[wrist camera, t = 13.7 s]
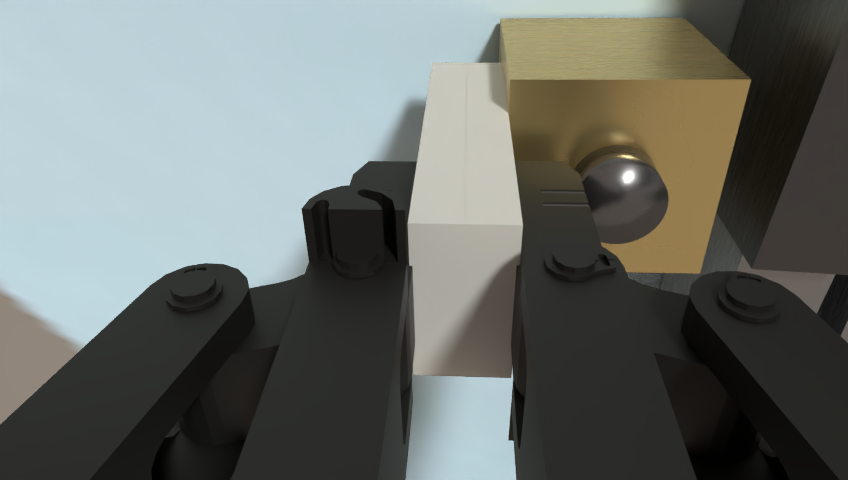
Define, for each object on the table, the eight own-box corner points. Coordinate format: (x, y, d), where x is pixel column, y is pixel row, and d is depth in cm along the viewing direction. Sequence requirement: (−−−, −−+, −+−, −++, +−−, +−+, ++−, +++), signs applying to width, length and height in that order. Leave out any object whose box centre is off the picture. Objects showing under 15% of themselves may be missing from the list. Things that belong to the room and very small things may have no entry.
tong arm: (772, -92, 13) (880, -61, 10) (874, -87, 13) (1018, -54, 9) (598, 495, 23) (619, 609, 20) (653, 499, 23) (684, 614, 20)
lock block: (684, 17, 14) (769, 96, 10) (652, 180, 16) (712, 298, 12) (500, 18, 14) (512, 96, 10) (493, 178, 17) (501, 294, 12)
